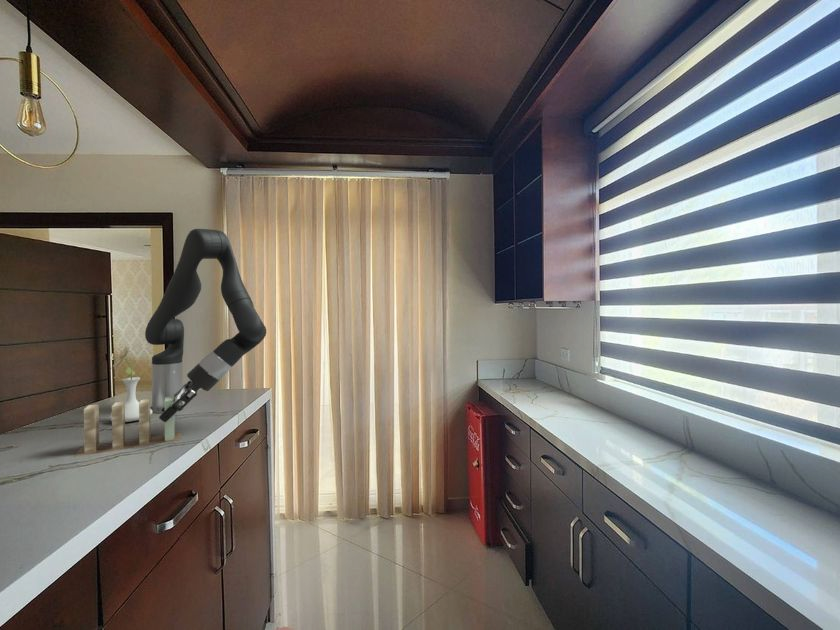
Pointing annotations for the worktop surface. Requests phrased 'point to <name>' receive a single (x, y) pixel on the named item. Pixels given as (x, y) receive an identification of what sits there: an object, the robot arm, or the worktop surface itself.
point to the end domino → (91, 428)
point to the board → (129, 444)
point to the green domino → (170, 423)
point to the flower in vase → (129, 389)
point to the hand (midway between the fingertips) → (162, 416)
